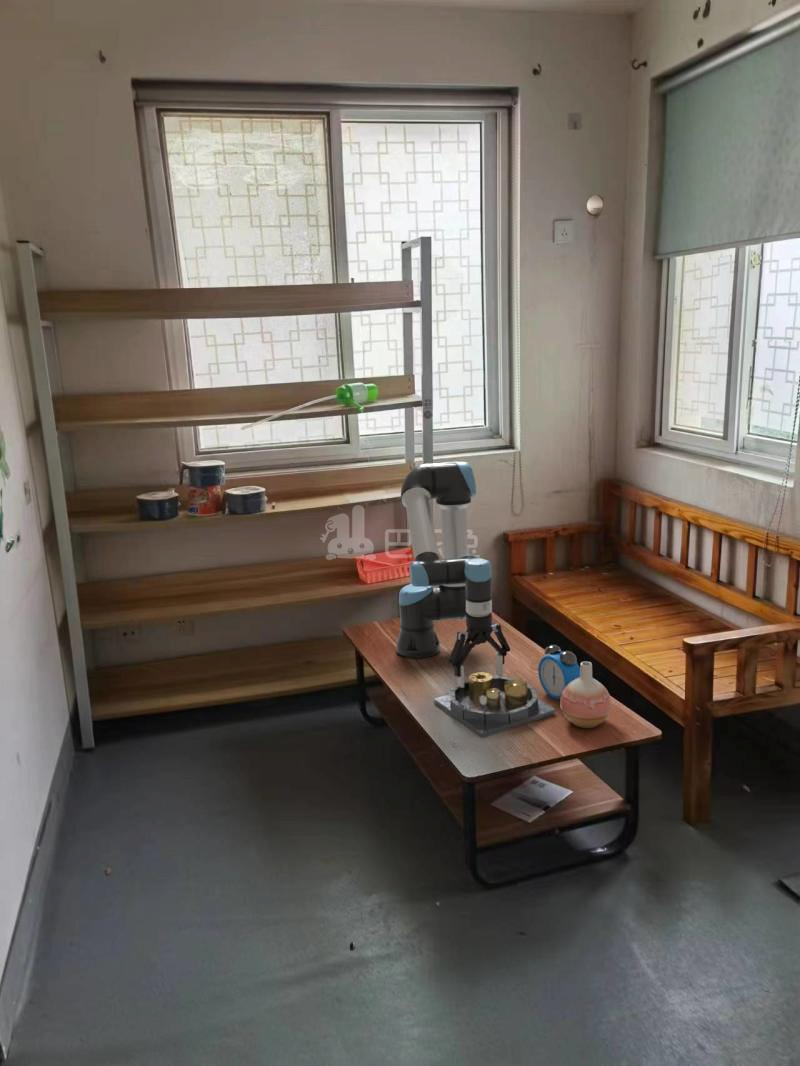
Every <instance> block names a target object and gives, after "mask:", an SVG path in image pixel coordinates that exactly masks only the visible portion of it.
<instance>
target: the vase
mask: <svg viewBox="0 0 800 1066" xmlns="http://www.w3.org/2000/svg"><path fill="white" fill-rule="evenodd" d="M579 668H580V677H579V678H577V679H575V680H573V681H571V682H570V683H569V684H568V685H567V686H566V687H565V689H564V690H563V692H562V695H561V699H559V701H560V702H559V706H560V711H561V712H562V714H563V716H564V717H565V718H566V719H567V721H569V722H570V723H572V724H573V725H574V726H575V727H577V728H582V729H593V728H596V727H598V726H599V725H600V724H603V723H604V722H605V721H606V720H607V719H608V718H609V716H610V714H611V712H612V699H611V696H610V693H609V691H608V689H607V688H606V687H605V686H604V685H603V684H602V683H601V682H599V681H598V680H597V679H595V678H594V677H593V664H592V662H590V661H585V660H584V661H581V662H580V666H579Z"/></svg>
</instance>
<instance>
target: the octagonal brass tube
mask: <svg viewBox="0 0 800 1066" xmlns="http://www.w3.org/2000/svg"><path fill="white" fill-rule="evenodd" d="M492 676H493V675H492V674H490V673H489V672H484V671H483V672H480V671H478V672H474V673H471V674H470V675H469V676H468V680H469V697H470V698H472V699H473V700H479V701H480V696H481V695H485V696H486V690H487V689H489V688H493V678H492Z"/></svg>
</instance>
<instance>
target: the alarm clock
mask: <svg viewBox="0 0 800 1066" xmlns="http://www.w3.org/2000/svg"><path fill="white" fill-rule="evenodd" d="M543 653H544V654H543V655H544V656H543V657H541V659H540V661H539V663H538V668H537V674H538V675H537V676H538V679H539V683H540V684H541V686H542V688H543V691H544V692H545V694H546V695H548V696H549V697H550V698H553V699H554V700H560V699H561V695H562V692H563V690H564V689H565V687H566V686H567V685H568V684H569V683H570V682H571V681H573V680H575V679H577V678H579V677H580V666H579V664H578V661H577V656H576V654H574V653H573V652H572V651H569V650H565V651H562V650H561V647H560V646H558V645H557V644H549V646H547V647H546V648H545V649H544V652H543Z"/></svg>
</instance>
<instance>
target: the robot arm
mask: <svg viewBox="0 0 800 1066" xmlns="http://www.w3.org/2000/svg"><path fill="white" fill-rule="evenodd" d="M476 495H477V486H476V480H475V475H474V471H473V468H472V466H471V464H470V463H469V462H466V461H446V462H435V463H430V462H429V463H422V464H419V465H417V466H416V467H414V468H412V469H411V471H409V473H408V474H407V475H406V477H405V478H404V480H403V482H402V485H401V489H400V499H401V503H402V505H403V507H405V510H406V516H407V521H408V529H409V534H410V541H411V546H412V547H411V548H412V552H413V553H412V554H413V558H414V559H413V560H414V561H411V562H410V563H409V580H410V583H409V584H407V585H405V586H403V587H402V588H401V589H400V591H399V593H398V596H399V597H398V604H399V622H400V625H399V626H400V627H399V628H400V630H399V634H398V638H397V641H396V645H395V647H396V648H395V649H396V650H395V651H396V653H397V654H398V653H399V654H400V655H399V654H398V655H399V656H401V655H402V656H401V657H404V656H405V657H404V658H410V659H423V658H424V659H425V658H429V657H432V656H436V655H437V654H438V653H439V652H440V651H441V643H440V639H439V637H438V634H437V632H436V630H435V622H437V621H450V620H451V621H452V620H464V619H465V625H466V631H465V632H464V631H463V632H461V631H457V633H456V641H455V643H454V646H453V649H452V651H451V653H450V656H449V659H448V660H447V663H448V665H450V666H451V667H453V669H454V670H453V671H454V676H455V677H456V685H458V686H460V687H461V688H464V681H465V667H464V665H463V663H464V662H465V661H466V659H467V657H468V655H469V654H470V653H471V651H472V649H474V648H475V647H476V645H477V646H478V645H480V644H486V642H488V643H489V644H490V646H491V647H492V648H493V649H495V651H496V652H495V654H494V659H495V665H494V666H495V667H494V668H495V673H494V674H495V675H496V676H500V677H502V676H503V677H504V670H503V669H504V667H503V665H505V657H506V656H507V655H508V653H509V652H510V651H511V648H510V645H509V643H508V641H507V639H506V638H505V635H504V633H503V631H502V626H501V624H499V623H497V622H493V613H492V612H493V596H492V593H493V590H492V586H493V584H492V583H493V582H492V579H493V578H492V576H493V570H492V563H491V561H490V560H488V559H485V558H481V557H480V558H479V557H477V556H476V555H474V554H470V553H468V552H469V551H468V519H467V518H468V511H467V509H468V508H467V507H468V506H469V505H470V504H471V503H472V498H474V497H475V496H476ZM434 499H435V504H436V505H437V506H438V507H439V508H440V518H441V519H440V520H441V523H440V524H441V525H440V526H441V548H442V549H441V552H442V553H441V554H442V555H441V556H442V557H441V558H442V559H440V554H439V553H440V552H439V549H438V548H439V547H438V542H437V538H436V532H435V527H434V523H433V522H434V521H433V516H432V512H431V506H430V503H431V501H432V500H434ZM492 632H493V633H494V635H495V636H496V639H497V640H498V642H499V644H498V642H496V640H495V639H494V638H493V637H492V636H491V635H492Z"/></svg>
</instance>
